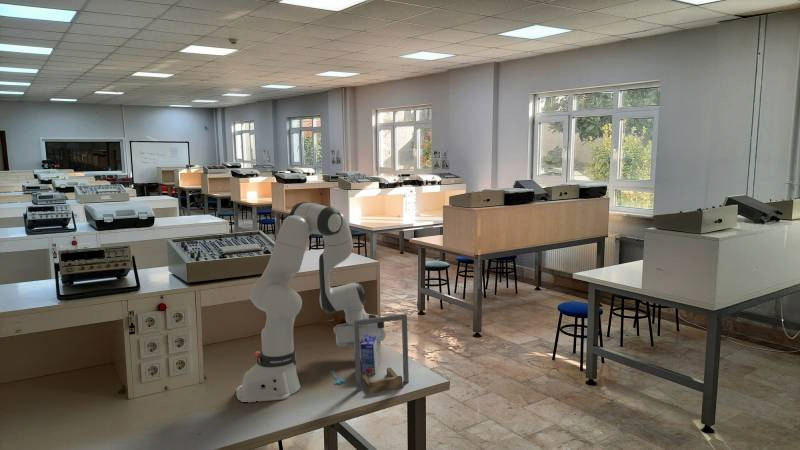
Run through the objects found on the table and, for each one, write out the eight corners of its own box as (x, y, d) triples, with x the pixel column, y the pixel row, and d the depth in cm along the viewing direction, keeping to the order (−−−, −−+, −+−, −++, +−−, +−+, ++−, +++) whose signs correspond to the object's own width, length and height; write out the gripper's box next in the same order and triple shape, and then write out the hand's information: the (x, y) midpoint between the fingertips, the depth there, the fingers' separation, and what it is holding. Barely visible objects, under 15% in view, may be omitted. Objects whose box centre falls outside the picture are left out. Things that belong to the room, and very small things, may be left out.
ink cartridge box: (365, 364, 221) (363, 329, 219) (379, 364, 220) (377, 329, 218) (361, 374, 211) (359, 338, 209) (375, 374, 210) (374, 338, 208)
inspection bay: (370, 393, 194) (369, 382, 194) (360, 378, 207) (359, 368, 206) (402, 387, 198) (402, 377, 198) (390, 373, 211) (390, 363, 210)
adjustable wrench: (348, 381, 204) (335, 384, 202) (348, 384, 204) (335, 386, 202) (336, 368, 216) (324, 370, 214) (336, 370, 217) (324, 372, 215)
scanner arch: (357, 391, 196) (354, 322, 193) (355, 388, 199) (353, 320, 195) (409, 382, 203) (407, 315, 199) (406, 380, 205) (405, 313, 201)
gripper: (333, 321, 224) (340, 352, 216) (381, 315, 230) (389, 345, 223) (331, 328, 229) (338, 359, 221) (379, 322, 235) (386, 352, 227)
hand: (364, 352), depth 222 cm, fingers closed
